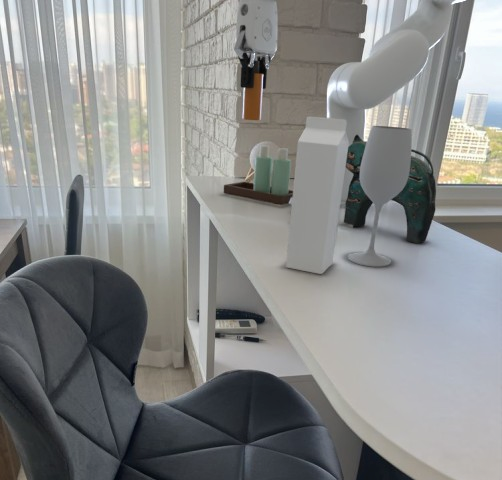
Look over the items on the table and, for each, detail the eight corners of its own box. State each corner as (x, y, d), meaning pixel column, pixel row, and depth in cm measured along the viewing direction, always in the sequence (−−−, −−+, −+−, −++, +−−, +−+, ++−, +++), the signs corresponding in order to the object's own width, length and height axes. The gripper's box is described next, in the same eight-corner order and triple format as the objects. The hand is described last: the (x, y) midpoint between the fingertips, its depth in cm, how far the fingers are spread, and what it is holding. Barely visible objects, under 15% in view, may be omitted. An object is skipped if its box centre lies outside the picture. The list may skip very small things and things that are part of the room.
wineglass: (338, 254, 88) (357, 124, 79) (375, 252, 91) (397, 126, 81) (362, 268, 82) (384, 129, 73) (401, 265, 84) (427, 130, 75)
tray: (299, 202, 126) (300, 191, 125) (280, 207, 120) (281, 196, 119) (243, 191, 135) (244, 181, 134) (223, 195, 129) (223, 184, 128)
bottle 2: (289, 199, 126) (293, 148, 121) (285, 202, 122) (290, 150, 117) (272, 197, 127) (276, 147, 122) (268, 200, 123) (272, 148, 118)
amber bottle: (262, 119, 118) (265, 61, 113) (258, 120, 115) (261, 60, 109) (245, 118, 119) (247, 60, 114) (240, 119, 115) (242, 59, 110)
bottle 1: (271, 195, 129) (275, 146, 124) (267, 198, 125) (270, 147, 120) (255, 194, 130) (258, 144, 124) (250, 196, 126) (254, 146, 121)
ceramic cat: (333, 223, 108) (347, 123, 99) (350, 220, 113) (365, 123, 104) (417, 246, 96) (441, 133, 87) (433, 241, 100) (457, 133, 92)
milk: (297, 258, 85) (312, 115, 75) (332, 264, 83) (352, 119, 73) (285, 267, 80) (299, 116, 70) (321, 275, 78) (341, 119, 68)
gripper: (250, -17, 98) (245, 87, 106) (293, -3, 110) (286, 90, 118) (219, -16, 101) (217, 86, 110) (265, -2, 114) (260, 88, 122)
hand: (253, 87), depth 114 cm, fingers closed on amber bottle, 4 cm apart
